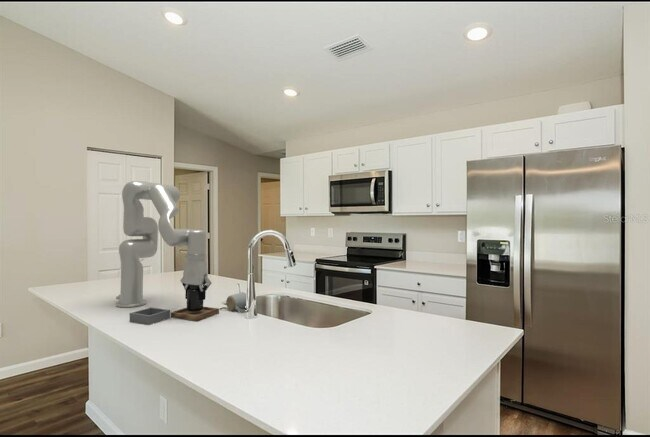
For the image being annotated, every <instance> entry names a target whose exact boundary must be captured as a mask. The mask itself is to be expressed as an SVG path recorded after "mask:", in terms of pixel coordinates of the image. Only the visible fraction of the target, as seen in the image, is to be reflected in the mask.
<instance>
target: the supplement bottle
mask: <svg viewBox="0 0 650 437" xmlns="http://www.w3.org/2000/svg"><path fill="white" fill-rule="evenodd" d="M200 291H201V290H200V287H199V285H190V288H189V289H188V290H187V299H186V308H187V310H188V311H191V312H195V311H201V310H202V309H203V307H204V300H202V301H200V300H199V292H200Z"/></svg>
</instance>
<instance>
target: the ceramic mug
mask: <svg viewBox="0 0 650 437" xmlns="http://www.w3.org/2000/svg"><path fill="white" fill-rule="evenodd" d="M246 294H247V293H246V292H244V291H240V292H239V293H234V294H231V295H228V296H227V298H226V301H225V302H226V303H225V304H226V307H227V309H228V310H229V311H230V312H232V311H233V312H235V311H237V312H239V313H246V312H245V309H246V308H245V306H246Z"/></svg>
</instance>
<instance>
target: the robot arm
mask: <svg viewBox="0 0 650 437" xmlns="http://www.w3.org/2000/svg"><path fill="white" fill-rule="evenodd" d="M121 197H122V198H121V200H122V204H123V220H122V221H123V223H122V224H123V225H122V227H123V228H122V229H123V233H124V235H125V236H126V237H127V236H128V237H142V238H133V239H132V238H131V239H127V240H123V241H122V242H121V243H120V244H119V246H118V254H119V259H120V293H119V295H118V296H116V297H115V299H116V300H118V302H116V304H115V306H116V307H118V308H134V307H136V308H137V307H141V306H144V305H146V303H147V301H146V299H143V298H144V296H143V294H144V266H143V263H142V262H141V261H140V259H146V258H147V259H148V258H152V257H154V256H155V255H156V254H157V251H158V240H159V238H158V237H159V234H160V236H161V238H162V240H163V241H164V242H165V244H166V245H168V246H170V247H185V246H187V248H186V251H187V254H186V255H185V258H186V261H185V262H184V266H183V271H182V272H183V273H182V277H181V279H180V282H181V284H182V287H183V288H184V289H183V290H185V300H187V290H188V289H189V288H190V285H199V287H200V290H201V291H200V292H199V300H200V301H202V300H203V301H205V300H206V291H207V290H208V289H209V287H210V286H211V285H212V284H213V283H212V281H211V280H210V279H209V277H208V276H209V274H208V272H209V271H208V263H207V261H206V247H207V246H206V241H207V233H206V231H205V230H204V229H192V228H175V227H174V226H173V225H172V223H171V221H170V219H173V218H174V217H176V216H177V215H178V213H179V212H180V208H179V207H178V205H177V202H179V200H180V198H181V191H180V190H179V188H177V187H176V186H174V185H169V184H162V183H157V182H156V183H155V182H148V181H141V180H133V181H129V182H126V184H125V185H124V187H123V188H122V191H121ZM140 200H146V201H147V200H150V201H151V202H152V204H153V205H154V207H155V209H156V211H157V213H158V215H159V218H158V222H157V221H156V219H155V218H153V217H150V216H149V217H147V216H145V217H144V211H145V210H144V206H143V203H142V202H141V201H140Z"/></svg>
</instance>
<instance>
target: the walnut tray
mask: <svg viewBox="0 0 650 437" xmlns="http://www.w3.org/2000/svg"><path fill="white" fill-rule="evenodd" d="M218 314H220V308H219V307H218V308H217V307H209V306H203V309H202V310H201V311H195V312H191V311H188V310H187V307H185V308H181V309H178V310H174V311H170V319H175V320H176V319H177V320H183V321H190V322H191V321H192V322H200V321H202V320H205V319H207V318H210V317H213V316H215V315H218Z"/></svg>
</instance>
